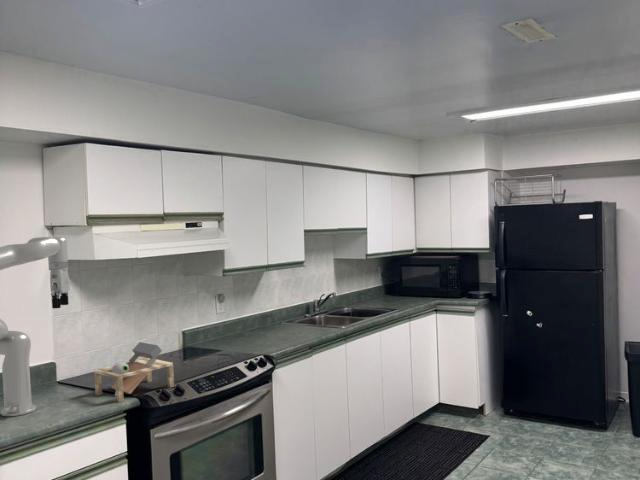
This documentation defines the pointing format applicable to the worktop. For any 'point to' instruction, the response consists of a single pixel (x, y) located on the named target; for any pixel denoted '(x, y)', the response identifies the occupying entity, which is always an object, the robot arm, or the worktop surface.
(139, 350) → the trapdoor
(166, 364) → the trapdoor frame
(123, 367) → the lollipop
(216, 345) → the worktop surface
